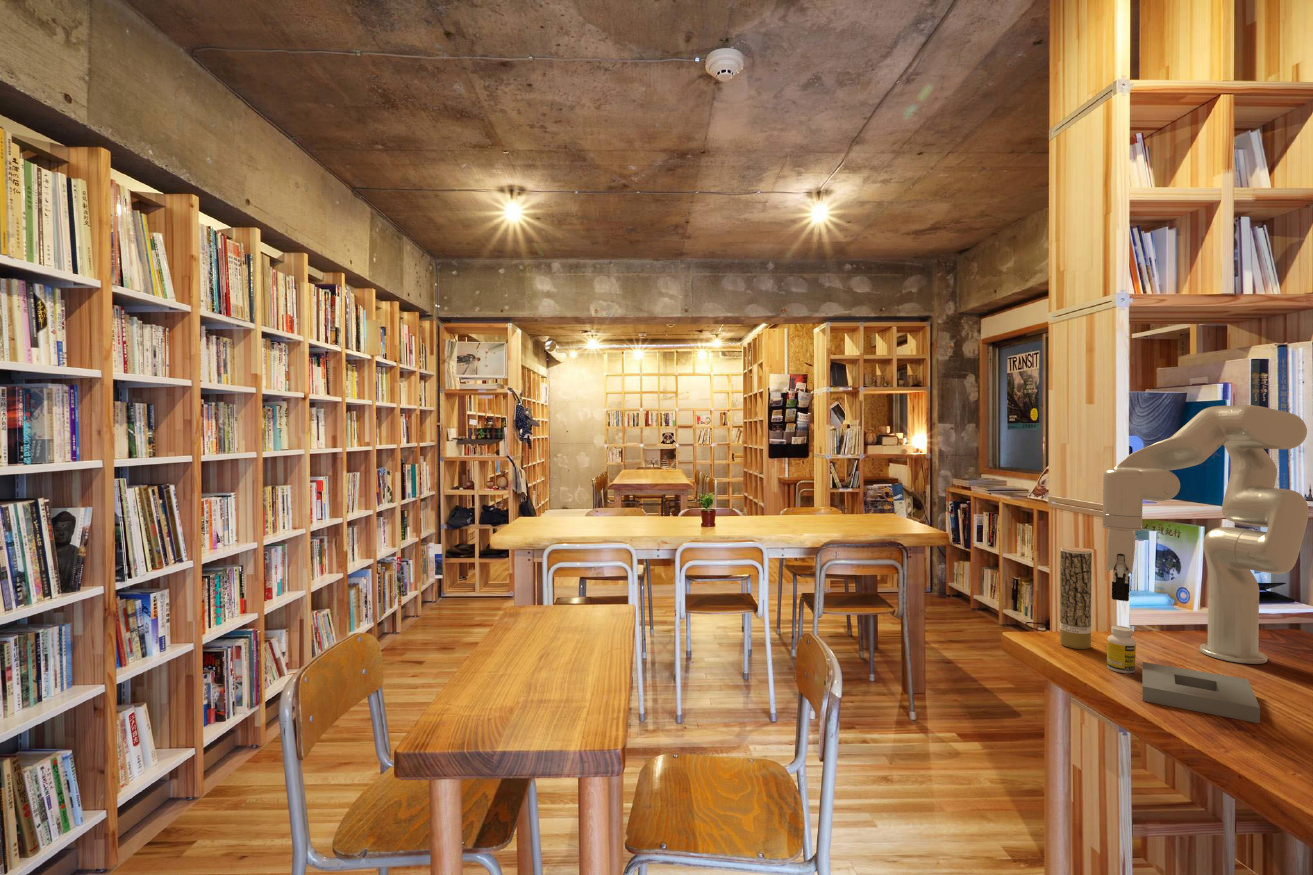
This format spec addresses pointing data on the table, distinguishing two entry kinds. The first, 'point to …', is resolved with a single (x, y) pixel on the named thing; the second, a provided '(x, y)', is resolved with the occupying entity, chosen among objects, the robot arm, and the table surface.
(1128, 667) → the supplement bottle
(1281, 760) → the table surface
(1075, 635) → the paper tube
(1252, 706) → the socket board
